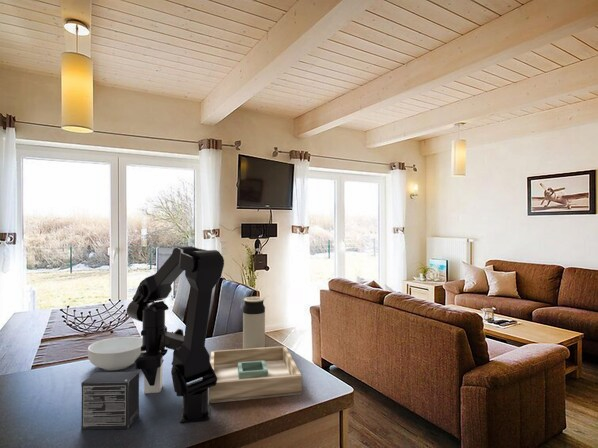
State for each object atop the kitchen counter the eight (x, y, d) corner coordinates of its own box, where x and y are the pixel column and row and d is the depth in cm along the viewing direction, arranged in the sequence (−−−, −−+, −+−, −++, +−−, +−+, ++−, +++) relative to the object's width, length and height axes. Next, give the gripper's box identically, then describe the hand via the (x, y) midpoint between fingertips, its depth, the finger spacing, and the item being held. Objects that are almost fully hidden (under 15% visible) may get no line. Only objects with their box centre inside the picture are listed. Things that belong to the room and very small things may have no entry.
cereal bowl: (131, 377, 107) (132, 353, 107) (75, 376, 107) (75, 353, 107) (154, 356, 124) (154, 335, 124) (105, 356, 124) (105, 335, 124)
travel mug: (248, 353, 128) (248, 301, 128) (239, 346, 134) (239, 297, 134) (268, 348, 132) (268, 299, 132) (258, 342, 139) (258, 295, 139)
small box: (140, 414, 87) (140, 370, 87) (128, 429, 80) (128, 382, 80) (95, 414, 86) (95, 370, 86) (79, 430, 80) (80, 382, 80)
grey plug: (160, 392, 98) (160, 362, 98) (144, 393, 97) (144, 363, 97) (162, 385, 102) (162, 357, 102) (147, 387, 101) (147, 358, 101)
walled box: (301, 394, 97) (301, 375, 97) (209, 403, 92) (209, 383, 92) (285, 360, 120) (285, 345, 120) (210, 366, 115) (211, 350, 115)
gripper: (181, 333, 92) (181, 395, 92) (187, 315, 110) (187, 366, 110) (134, 336, 90) (133, 399, 90) (148, 317, 108) (148, 369, 108)
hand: (153, 382), depth 99 cm, fingers closed on grey plug, 4 cm apart
